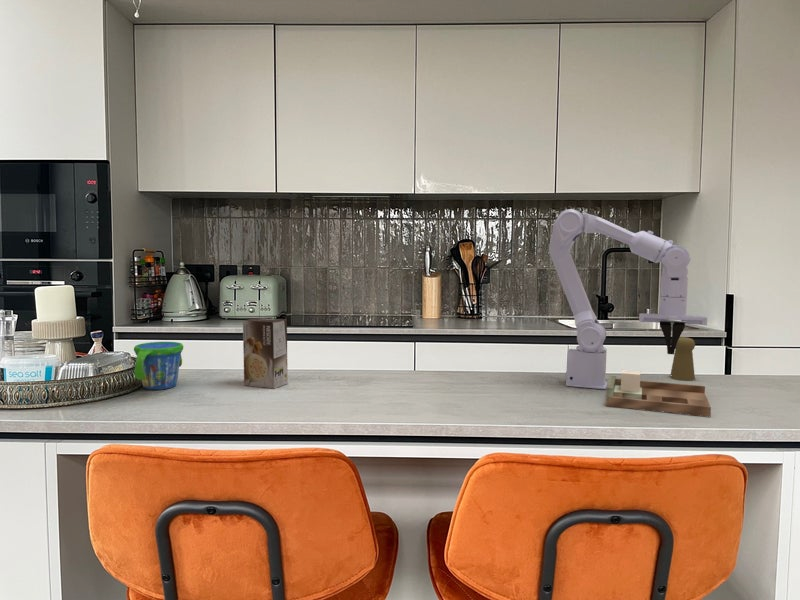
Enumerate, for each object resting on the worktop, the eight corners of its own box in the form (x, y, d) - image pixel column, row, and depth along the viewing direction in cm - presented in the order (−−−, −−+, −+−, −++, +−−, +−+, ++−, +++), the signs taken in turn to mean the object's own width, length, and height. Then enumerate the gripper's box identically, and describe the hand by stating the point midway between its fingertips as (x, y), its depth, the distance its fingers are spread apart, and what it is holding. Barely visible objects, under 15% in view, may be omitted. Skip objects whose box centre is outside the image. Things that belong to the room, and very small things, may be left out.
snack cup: (155, 396, 131) (154, 351, 130) (116, 392, 134) (115, 348, 133) (199, 382, 146) (198, 341, 145) (163, 378, 149) (163, 339, 148)
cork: (697, 381, 154) (700, 339, 153) (673, 380, 155) (675, 338, 154) (691, 376, 159) (693, 336, 159) (667, 375, 161) (669, 335, 160)
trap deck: (606, 406, 127) (606, 387, 126) (609, 392, 140) (610, 375, 139) (710, 417, 119) (711, 397, 119) (703, 401, 132) (704, 383, 132)
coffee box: (289, 383, 145) (288, 319, 144) (274, 389, 139) (273, 321, 138) (258, 380, 148) (257, 317, 147) (242, 385, 142) (241, 319, 141)
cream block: (620, 390, 133) (621, 373, 133) (621, 387, 137) (621, 370, 136) (639, 392, 131) (640, 374, 131) (639, 388, 135) (640, 371, 135)
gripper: (640, 296, 137) (637, 353, 139) (709, 299, 132) (706, 358, 133) (640, 294, 144) (637, 349, 145) (706, 297, 138) (703, 354, 139)
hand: (670, 353), depth 139 cm, fingers closed
